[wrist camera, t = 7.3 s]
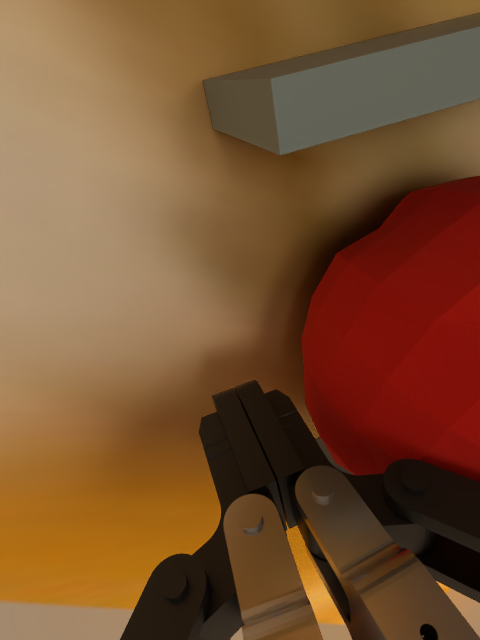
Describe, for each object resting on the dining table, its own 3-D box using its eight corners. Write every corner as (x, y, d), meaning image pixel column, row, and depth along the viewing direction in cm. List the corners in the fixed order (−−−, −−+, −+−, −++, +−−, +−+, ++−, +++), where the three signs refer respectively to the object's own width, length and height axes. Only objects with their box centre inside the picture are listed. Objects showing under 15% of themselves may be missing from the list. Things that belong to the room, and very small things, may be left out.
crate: (646, -28, 13) (906, -81, 9) (528, 367, 22) (623, 431, 18) (203, 80, 10) (270, 78, 6) (284, 467, 20) (332, 565, 16)
